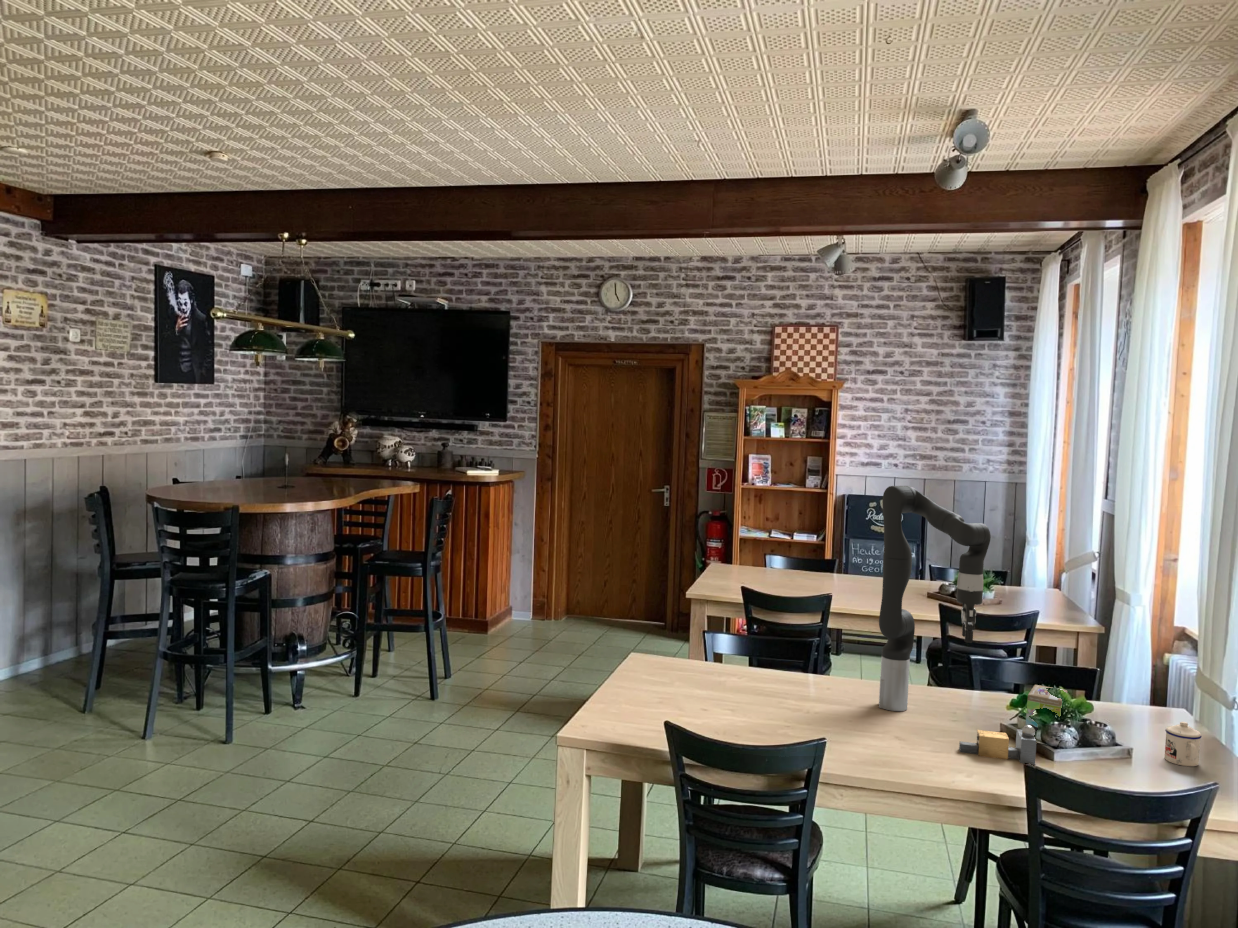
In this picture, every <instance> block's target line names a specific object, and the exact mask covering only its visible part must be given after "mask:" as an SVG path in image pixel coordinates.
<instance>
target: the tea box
mask: <svg viewBox="0 0 1238 928" xmlns="http://www.w3.org/2000/svg"><path fill="white" fill-rule="evenodd" d="M1046 688H1052V687H1050V686H1044V685H1040V684H1039V685H1038V684H1034V685H1033V687H1032V688H1031V690H1030V691H1029V692H1028V694H1027V701H1026V702H1027V703H1026V713H1025V724H1024V726H1026V725H1030V726H1032V727H1033V728H1034V729H1035V732H1036V731H1037V730H1038V724H1037V723H1036V722H1035V721H1034V720H1033V719H1031V718H1030V717H1029V716H1031V715H1033V714H1034V713H1033V712H1034V711H1035V709H1040V708H1041V709H1043V708H1047V709H1049V710H1051V711H1052V712H1055V713H1057V714H1058V716H1059V717H1060V716H1061V708H1062V699H1061V698H1057V697H1055V696H1053V695H1051V694H1050V693H1049V692H1048V691H1047V690H1048V689H1046ZM1059 689H1060V690H1063V691H1064V692H1066V693H1069V692H1068V690H1067V689H1061V688H1059ZM1057 714H1056V715H1057Z"/></svg>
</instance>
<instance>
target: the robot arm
mask: <svg viewBox="0 0 1238 928" xmlns="http://www.w3.org/2000/svg"><path fill="white" fill-rule="evenodd" d="M908 513H909V514H910V513H911V514H916V515H919V516H922V517H923V518H925V519H926V520H927V522H928V523H929V524H930V525H931V526H932V527H934V528H935V529H937V530H938V531H940V532H942V533H944V534H946V535H948V536H949V537H950V538H951V539H952V540H953V541H954V542H956V543H957V544H958V545H961V546H964V547H968V550H967V552H964V553H963V554H961V555H960V556H959V562H958V577H957V582H956V583H957V584H956V600H955V601H956V602H957V603H959V604H961V605H962V607H961V610H960V612H961V615H960V616H961V624H962V627H961V629H962V630H961V632H962V633H961V636H962V637H964V642H965V643H966V644H968V643H969V644H972V643H973V641H974V640H973V639H974V631H975V630H976V616H977V610H976V608H975V606H977V605H979V606H980V605H982V604H983V599H984V598H983V597H984V596H983V595H984V564H985V563H984V561H985V558H986V556H987V552H988V549H989V548H990V542H991V531H990V529H989V527H988V526H987V525H986V524H985V523H982V522H972V523H970V522H969V523H967V522H965V520H964V518H963V517H962V516H961V515H959V514H958V513H955V512H953V511H952V510H950V509H947V508H945V507H943V506H940V505H939V504H937V503H935V502H934V501H933V500H931V499H930V498H928V497H927V496H926V495H924V494H922V493H921V492H920V491H919V490H917V489H916V488H915V487H912V486H910V485H890V486H888V487H887V488H885V489H884V492H883V496H882V517H883V518H882V519H883V558H882V559H883V562H882V590H881V604H880V608H879V609H880V611H879V618H878V627H879V631H880V633H881V634H882V635H883V637H885V638H887V641H886V643H885V644H884V645H883V646H882V648H881V657H880V659H881V660H880V676H879V695H878V708H879V709H884V710H887V711H890V712H891V711H892V712H904V711H907V710H908V701H909V700H908V699H909V682H910V681H909V680H910V664H911V662H910V661H911V654H912V651H913V649H914V642H915V641H914V640H915V630H916V629H915V628H916V627H915V626H916V624H915V623H916V622H915V619H914V617H913V615H912V614H911V612H909V610H907V609H903V599H904V598H903V597H904V593H905V590H906V588H907V585H908V584H909V581H910V579H911V578H910V577H911V575H912V565H913V556H912V555H913V553H912V549H911V547H910V544H909V542H908V540H907V538H906V537H905V533H904V531H903V527H902V515H903V514H908Z"/></svg>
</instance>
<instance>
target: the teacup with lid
mask: <svg viewBox="0 0 1238 928" xmlns="http://www.w3.org/2000/svg"><path fill="white" fill-rule="evenodd" d="M1164 731H1165V732H1166V733H1165V745H1164V759H1165V760H1166V761H1167V762H1169V763H1171V764H1174V765H1178V766H1183V767H1197V766H1198V765H1199V764H1200V762H1199V761H1200V752H1201V751H1200V749H1201V738H1202V734H1201V732H1200V731H1198V730H1197V729H1194V728H1192V727H1191V726H1189V724H1188V722H1186V721H1179V724H1174V725H1169V726H1167V727H1165V730H1164Z"/></svg>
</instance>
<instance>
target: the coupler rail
mask: <svg viewBox="0 0 1238 928" xmlns="http://www.w3.org/2000/svg"><path fill="white" fill-rule="evenodd" d="M1034 735H1035V729H1034V728H1033V727H1032V726H1030V725H1026V726H1025V725H1024V726H1023V727H1021V729H1018V728H1016V737H1015V747H1012V746H1009V747H1008V759H1015V760H1018V762H1019V764H1025V763H1030V764H1029V765H1036V757H1037V756H1036V755H1037V754H1036V753H1037V743H1036V742H1037V741H1036V739H1035V737H1034ZM958 746H959V747H958V750H959V753H964V754H966V753H967V754H973V755H978V749H979V745H978V743H977V742H971V741H970V742H969V741H962V740H961V741H959V745H958Z"/></svg>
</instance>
